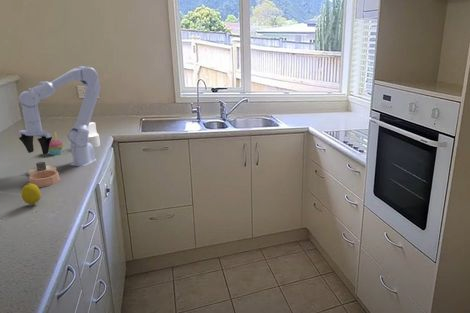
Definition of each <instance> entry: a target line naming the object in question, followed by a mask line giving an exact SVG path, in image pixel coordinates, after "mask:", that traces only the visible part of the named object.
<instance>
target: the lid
mask: <svg viewBox="0 0 470 313" xmlns="http://www.w3.org/2000/svg"><path fill="white" fill-rule="evenodd" d="M35 165H36V166H35V167H33V168H30V169H28V170H27V171H26V172H27V174H28V175H29V176H30V175H31V174H34V173H36V172H40V171H45V170H57V169H56V167H57V166H55V165H46V162H45V161H39V162H36V163H35ZM29 176H28V177H29Z"/></svg>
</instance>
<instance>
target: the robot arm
mask: <svg viewBox="0 0 470 313" xmlns="http://www.w3.org/2000/svg"><path fill="white" fill-rule="evenodd" d="M99 77H100V75H99V74H98V72H97V70H96V69H95V68H93V67H91V66H84V65H79V66H77V67H74V68H72V69H70V70H68V71H67V72H66V73H64V74H62V75H60V76H58V77H57V78H55V79H53V80H52V81H46V80H44V81H39V82H38V83H39V84H37V85H35V86H34V87H29V88H28V90H27V91H26V90H24V91H22V92H21V93H20V94H19V96H18V98H17V100H18V102H19V103H20V104H21V108H22V111H21V112H22V116H23V120H24V127H25V129H21V130H18V135H19V137H18V139H19V140H20V141H21V142H22V144H23V145H24V147H25V149H26V151H27V152H28V153H29V154H30V153H33V152H34V137H39V138H37V141H38V143H39V144H40V148H41V152H42V154H43V155H47V154H49V145H50V142H51V140H53V136H52V132H51V131H46V130H43V127H42V126H43V125H42V122H41V121H42V120H41V115H40V110H39V106H38V104H39V103H40V102H41V101H44V100H45V99H47V98H49V97H51V96H52V95H55V93H56V90H57V89H58V88H60V87H63V86H65V85H66V84H68V83H69V84H70V83H71V82H72V81H79V82H81V83H82V84H83V85H84V88H85V89H86V91H85V94H84V97H83V100H82V103H81V106H80V110H79V112H78V115H77V118H76V122H75V123H74V124H73V125H72V127H71V128H70V130H69V131H68V132H67V139H68V141H69V142H70V144H69V145H70V151H71V156H72V161H73V162H70V163H69V164H68V166H75V167H77V166H78V167H86V166H87V165H89V164H91V163H94V162H95V161H97V158H96V157H95V156H96V155H95V147H94V148H93V146H92V144H91V143H88V141H89V137H88V134H89V128H88V126H89V123H90V122H91V119H92V115H93V112H94V109H95V107H96V103H97V101H98V97H99V95H100V92H101V85H100V80H99Z"/></svg>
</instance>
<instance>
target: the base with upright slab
mask: <svg viewBox="0 0 470 313" xmlns="http://www.w3.org/2000/svg"><path fill="white" fill-rule="evenodd" d="M88 128H89V134H88V137H89V141H88V143H91V144H92V146H93V148H94V149H95V148H97V147H100V146H101V141H100V135H99V133H98V132H97V125H96V122H93V121H90V122H89V126H88Z"/></svg>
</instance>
